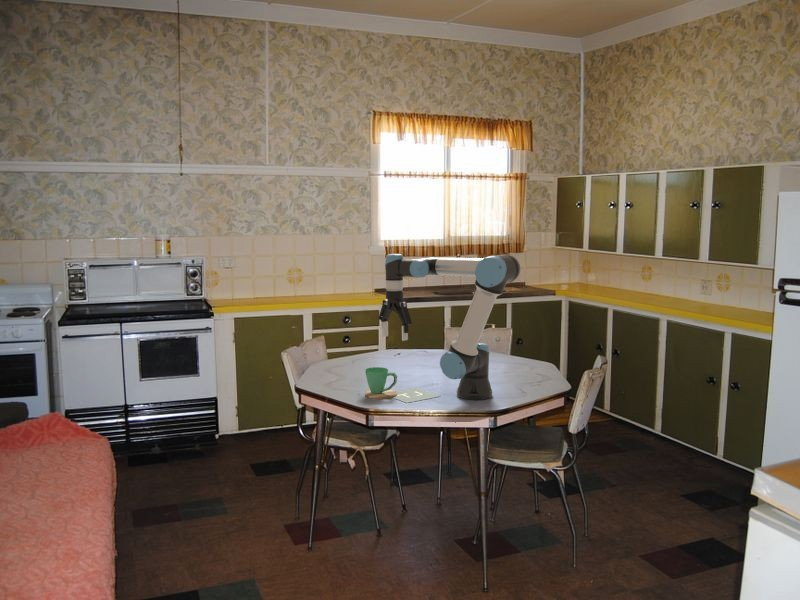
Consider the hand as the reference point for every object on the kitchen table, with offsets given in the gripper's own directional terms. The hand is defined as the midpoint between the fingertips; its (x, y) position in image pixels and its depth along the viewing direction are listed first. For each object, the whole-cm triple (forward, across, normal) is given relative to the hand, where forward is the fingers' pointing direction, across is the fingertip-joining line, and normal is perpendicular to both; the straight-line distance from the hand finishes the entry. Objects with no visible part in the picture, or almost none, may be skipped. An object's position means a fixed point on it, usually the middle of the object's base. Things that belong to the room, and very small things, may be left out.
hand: (394, 338), depth 320 cm
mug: (+23, -1, +9) cm, 24 cm away
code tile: (+24, -10, 0) cm, 26 cm away
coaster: (+23, -2, +9) cm, 25 cm away
